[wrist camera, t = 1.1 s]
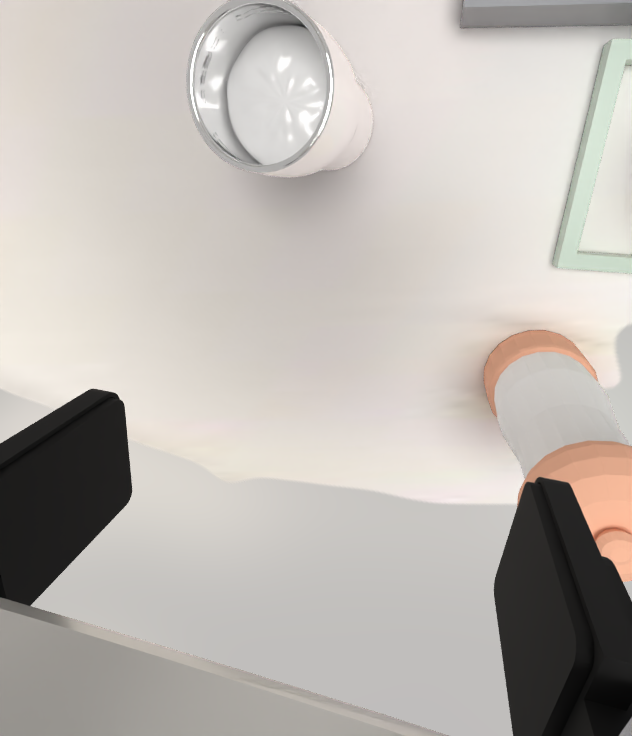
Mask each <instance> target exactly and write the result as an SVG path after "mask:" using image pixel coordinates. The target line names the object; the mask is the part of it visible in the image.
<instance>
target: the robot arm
mask: <svg viewBox="0 0 632 736" xmlns="http://www.w3.org/2000/svg"><path fill="white" fill-rule="evenodd" d="M131 494H132V483H131V472H130V461H129V451H128V439H127V428H126V417H125V407H124V403H123V401H121V400H120V399H119V397H118V395H117V394H116V393H113V392H108V391H103V390H98V389H90V390H88V391H86V392H85V393H83V394H81V395H80V396H78V397H76V398H75V399H73V400H71V401H70V402H68V403H67V404H65V405H63V406H62V407H60V408H58V409H57V410H55V411H53V412H52V413H50V414H49V415H47V416H45V417H44V418H42V419H40V420H39V421H37V422H35V423H34V424H32V425H30V426H29V427H27V428H25V429H24V430H22V431H20V432H19V433H17V434H16V435H14V436H12V437H10V438H9V439H7V440H6V441H4V442H3V443H1V444H0V736H448V735H445V734H442V733H439V732H436V731H433V730H430V729H427V728H424V727H420V726H417V725H414V724H411V723H408V722H405V721H402V720H399V719H396V718H393V717H390V716H387V715H384V714H381V713H378V712H374V711H371V710H368V709H365V708H361V707H358V706H355V705H352V704H349V703H345V702H342V701H339V700H336V699H332V698H329V697H326V696H323V695H320V694H317V693H313V692H310V691H307V690H304V689H301V688H297V687H294V686H291V685H288V684H284V683H281V682H278V681H275V680H271V679H268V678H265V677H262V676H259V675H256V674H252V673H249V672H246V671H243V670H239V669H236V668H232V667H230V666H226V665H223V664H220V663H216V662H213V661H210V660H207V659H203V658H200V657H197V656H194V655H190V654H187V653H184V652H180V651H177V650H174V649H170V648H167V647H164V646H161V645H158V644H154V643H151V642H148V641H144V640H141V639H138V638H134V637H131V636H128V635H125V634H121V633H118V632H115V631H111V630H108V629H105V628H102V627H98V626H95V625H92V624H88V623H85V622H82V621H78V620H75V619H71V618H68V617H65V616H61V615H58V614H55V613H51V612H47V611H45V610H41V609H38V608H34V607H31V606H30V605H31V604H32V603H33V602H34V601H35V600H36V599H37V598H38V597H39V596H40V595H41V594H42V593H43V592H44V591H45V590H46V588H48V587H49V585H50V584H51V583H52V582H53V581H54V580H55V579H56V578H57V577H58V576H59V575H60V574H61V573H62V572H63V571H64V570H65V569H66V568H67V566H68V565H69V564H70V563H71V562H72V561H73V560H74V559H75V558H76V557H77V556H78V555H79V554H80V553H81V552H82V551H83V550H84V549H85V548H86V547H87V546H88V545H89V544H90V543H91V541H92V540H93V539H94V538H95V537H96V536H97V535H98V534H99V533H100V532H101V531H102V530H103V529H104V528H105V527H106V526H107V525H108V524H109V523H110V522H111V520H112V519H113V518H114V517H115V516H116V515H117V514H118V513H119V512H120V511H121V510H122V509H123V508H124V507H125V506H126V505H127V503H128V502H129V500H130V497H131ZM494 597H495V605H496V612H497V619H498V627H499V634H500V641H501V649H502V656H503V664H504V671H505V678H506V686H507V692H508V701H509V707H510V715H511V722H512V730H513V736H632V601H631V599H630V597H629V595H628V593H627V590H626V588H625V586H624V584H623V582H622V579H621V577H620V575H619V573H618V571H617V569H616V567H615V565H614V563H613V562H612V561H611V560H610V559H609V558H607V557H603V556H601V554H600V551H599V549H598V547H597V544H596V542H595V540H594V538H593V535H592V533H591V531H590V528H589V526H588V524H587V521H586V519H585V517H584V515H583V512H582V510H581V508H580V505H579V503H578V501H577V498H576V496H575V494H574V491H573V489H572V487H571V485H570V484H569V483H568V482H564V481H559V480H553V479H548V478H543V477H538V478H537V479H536V480H535V483H533V482H526V484H525V486H524V488H523V491H522V495H521V498H520V501H519V504H518V507H517V510H516V514H515V517H514V520H513V523H512V526H511V529H510V533H509V536H508V539H507V542H506V545H505V549H504V552H503V555H502V558H501V561H500V564H499V567H498V571H497V574H496V577H495V583H494Z"/></svg>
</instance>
